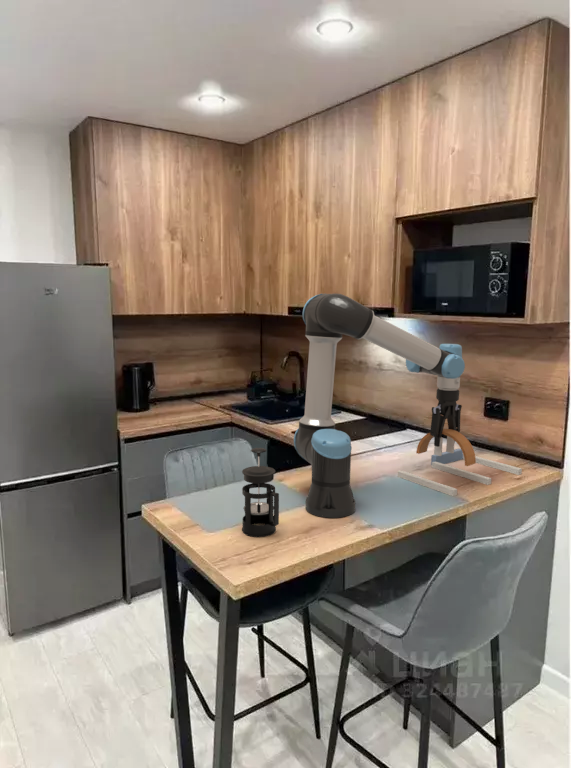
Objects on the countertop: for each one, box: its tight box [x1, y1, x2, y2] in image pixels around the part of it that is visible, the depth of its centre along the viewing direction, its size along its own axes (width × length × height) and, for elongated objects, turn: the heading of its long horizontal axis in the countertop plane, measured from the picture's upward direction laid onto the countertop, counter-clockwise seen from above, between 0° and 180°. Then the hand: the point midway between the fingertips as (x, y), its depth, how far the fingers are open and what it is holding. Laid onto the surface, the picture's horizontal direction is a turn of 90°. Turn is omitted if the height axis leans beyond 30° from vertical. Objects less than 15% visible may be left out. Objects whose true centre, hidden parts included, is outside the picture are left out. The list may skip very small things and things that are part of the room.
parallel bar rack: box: [397, 448, 523, 497], centre depth 193 cm, size 40×26×4 cm, turn 126°
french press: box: [241, 447, 280, 538], centre depth 143 cm, size 12×9×23 cm
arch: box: [415, 428, 477, 467], centre depth 185 cm, size 6×20×10 cm, turn 41°
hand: (443, 453), depth 186 cm, fingers closed on arch, 6 cm apart
